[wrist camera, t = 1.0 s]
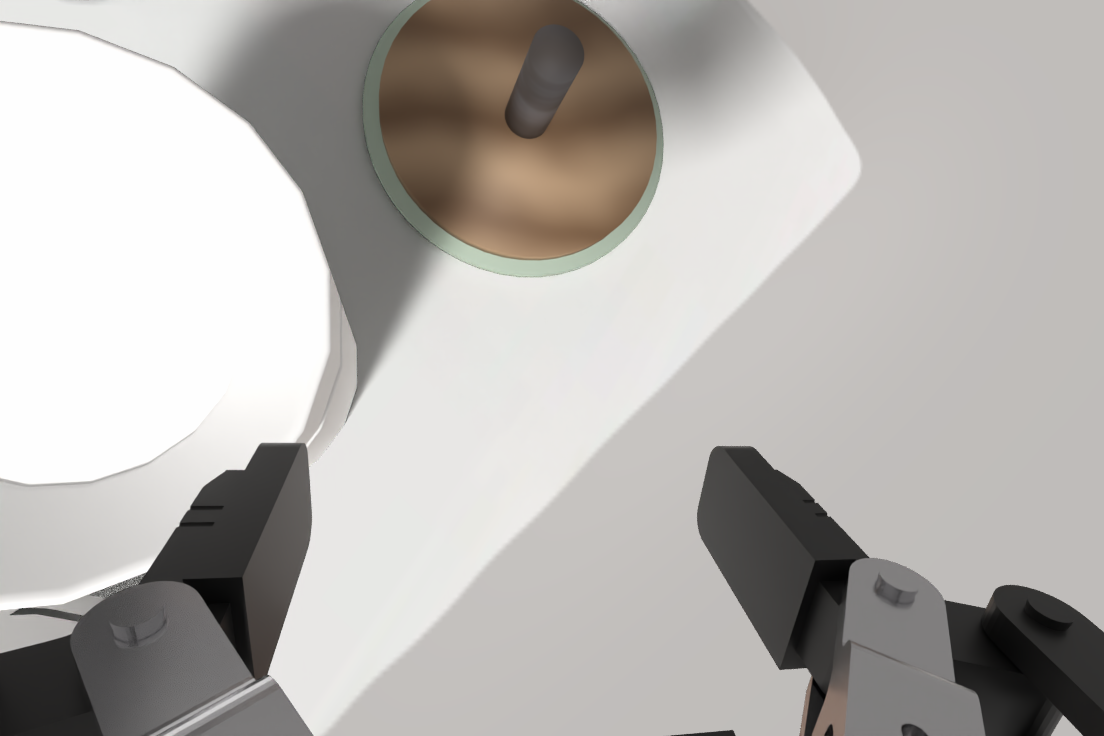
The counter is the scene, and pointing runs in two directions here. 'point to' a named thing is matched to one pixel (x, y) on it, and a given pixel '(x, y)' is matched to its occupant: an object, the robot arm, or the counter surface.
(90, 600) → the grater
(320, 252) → the canister
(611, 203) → the lid
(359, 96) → the counter surface
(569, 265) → the mat
